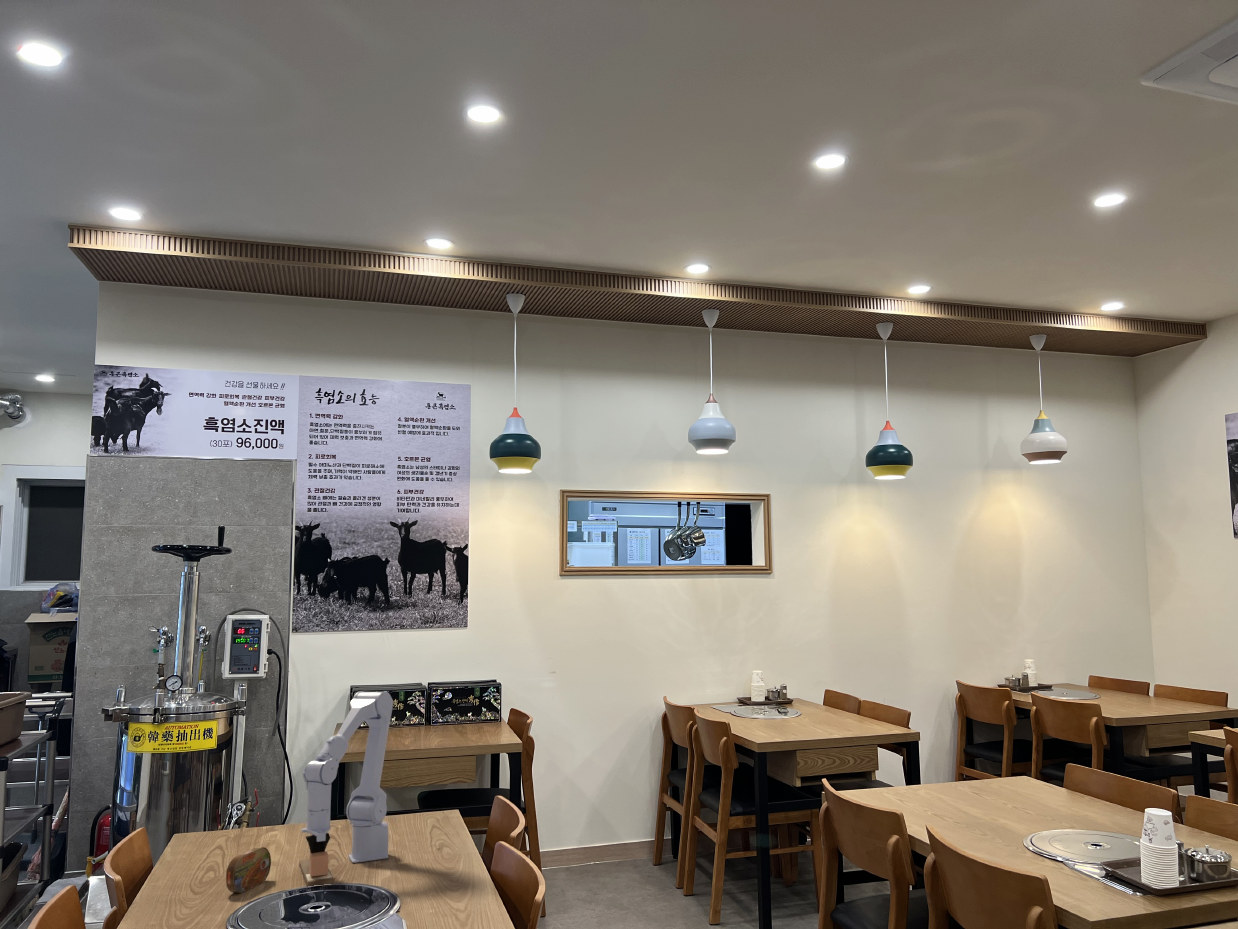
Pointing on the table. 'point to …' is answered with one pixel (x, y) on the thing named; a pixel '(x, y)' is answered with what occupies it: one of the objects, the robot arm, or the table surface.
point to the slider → (318, 864)
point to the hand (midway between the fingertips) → (316, 865)
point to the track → (314, 879)
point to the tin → (248, 870)
